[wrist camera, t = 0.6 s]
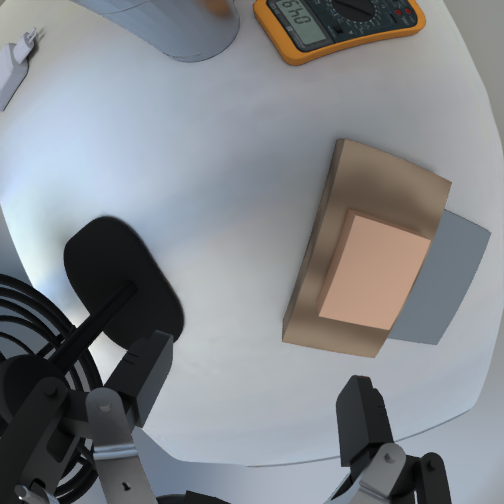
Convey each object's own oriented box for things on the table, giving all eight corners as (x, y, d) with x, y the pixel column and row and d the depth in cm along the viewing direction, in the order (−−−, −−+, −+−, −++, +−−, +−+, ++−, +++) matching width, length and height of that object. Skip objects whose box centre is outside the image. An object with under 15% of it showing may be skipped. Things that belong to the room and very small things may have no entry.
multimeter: (423, 36, 18) (435, 27, 15) (288, 72, 23) (289, 62, 20) (385, -18, 16) (393, -30, 13) (251, 14, 21) (247, 0, 17)
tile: (348, 208, 23) (355, 215, 21) (419, 232, 23) (430, 240, 21) (316, 302, 27) (318, 316, 25) (382, 316, 27) (389, 329, 24)
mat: (426, 201, 26) (428, 202, 25) (488, 231, 25) (491, 232, 25) (371, 332, 32) (372, 335, 32) (435, 342, 32) (436, 345, 31)
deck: (337, 139, 25) (345, 138, 21) (433, 177, 24) (451, 182, 21) (282, 321, 33) (281, 341, 29) (368, 338, 33) (374, 358, 29)
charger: (50, 47, 22) (4, 111, 26) (42, 20, 20) (-2, 81, 24) (30, 42, 18) (-15, 113, 22) (24, 15, 16) (-19, 81, 20)
